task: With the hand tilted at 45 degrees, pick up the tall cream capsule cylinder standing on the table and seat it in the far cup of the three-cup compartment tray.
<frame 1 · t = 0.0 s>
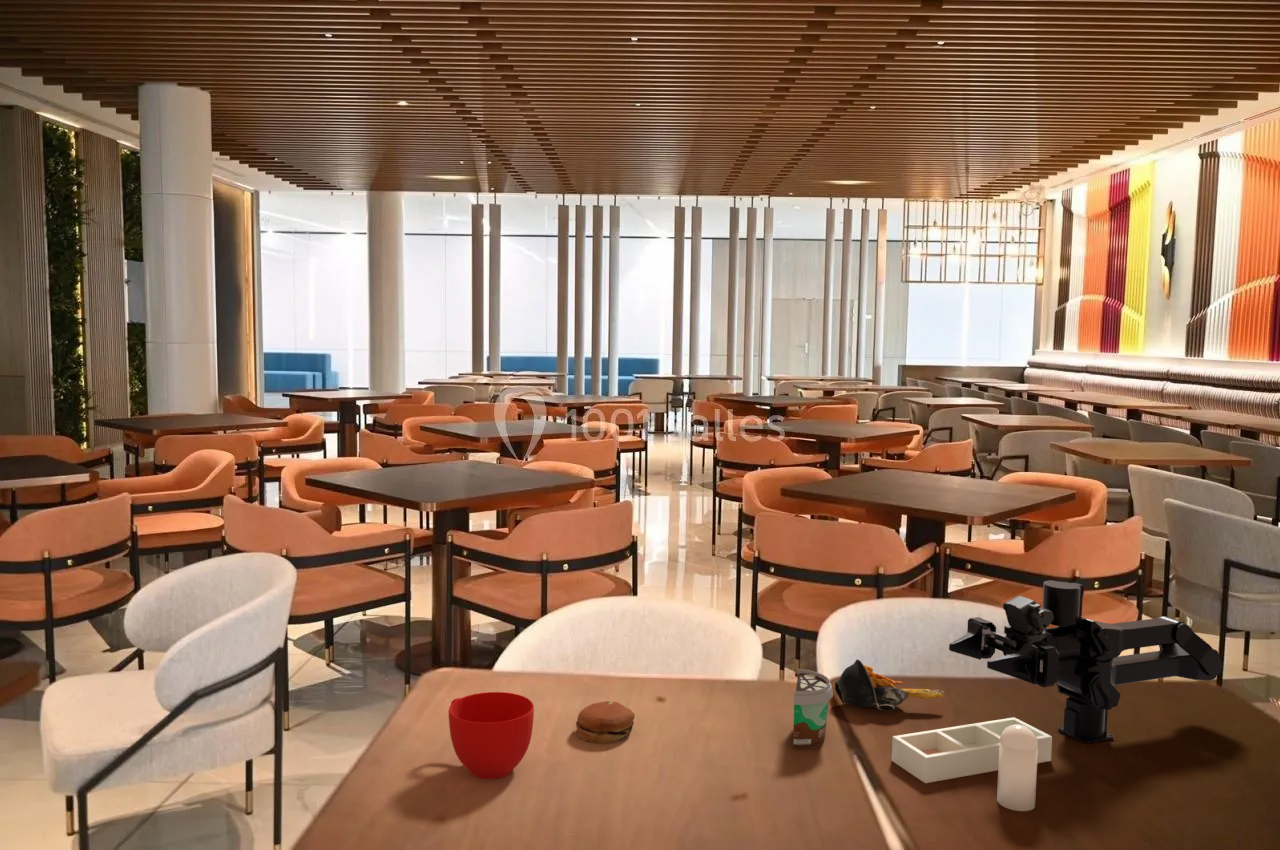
hand: (968, 655, 161), 17 cm above the table, tool horizontal, fingers open, 9 cm apart
compartment tray: (971, 760, 161), on the table
fried shrimp in bowl: (885, 709, 183), on the table
burger: (604, 734, 170), on the table
cream capsule cylinder: (1015, 802, 147), on the table
food container: (812, 740, 169), on the table
ceramic cup: (483, 766, 157), on the table
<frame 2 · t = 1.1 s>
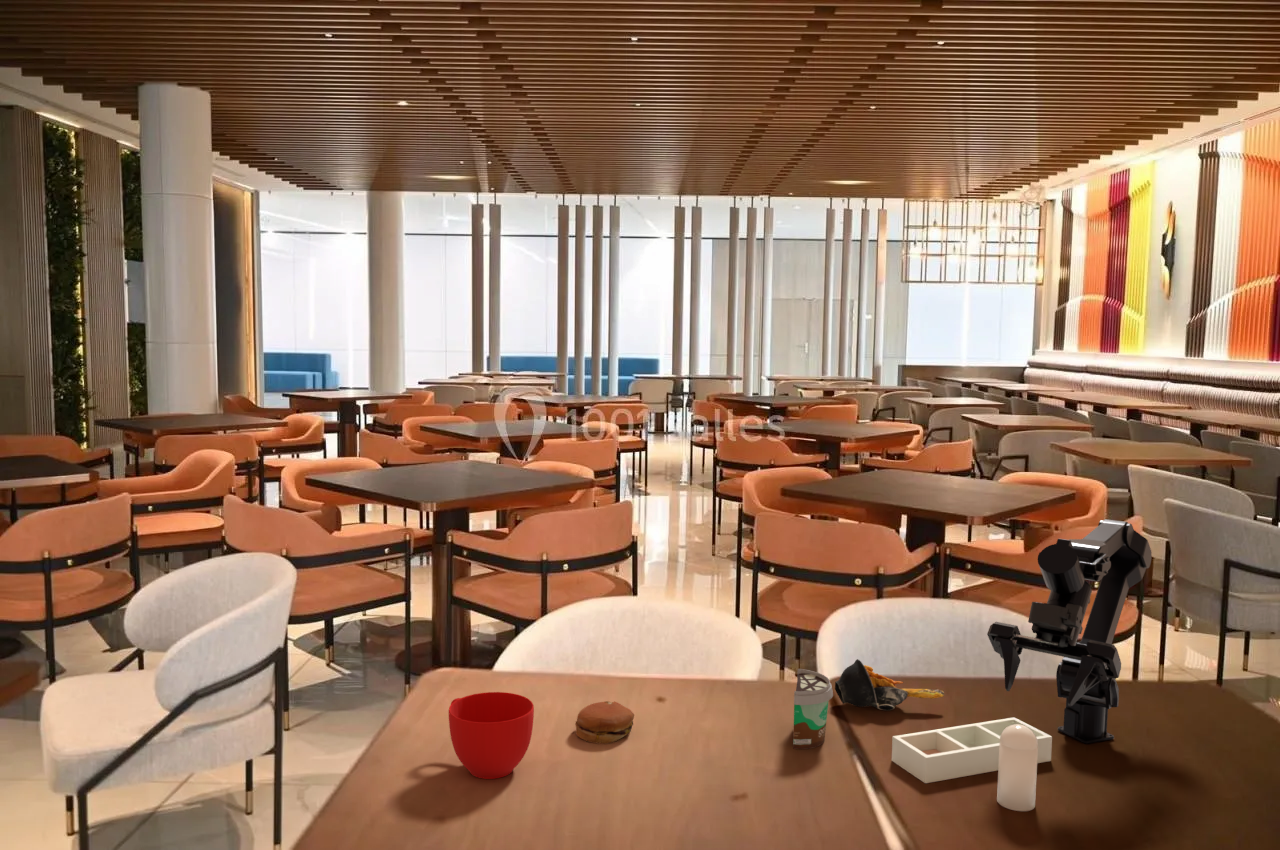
hand: (1037, 697, 151), 14 cm above the table, tool tilted 45°, fingers open, 9 cm apart
nothing on the table moved.
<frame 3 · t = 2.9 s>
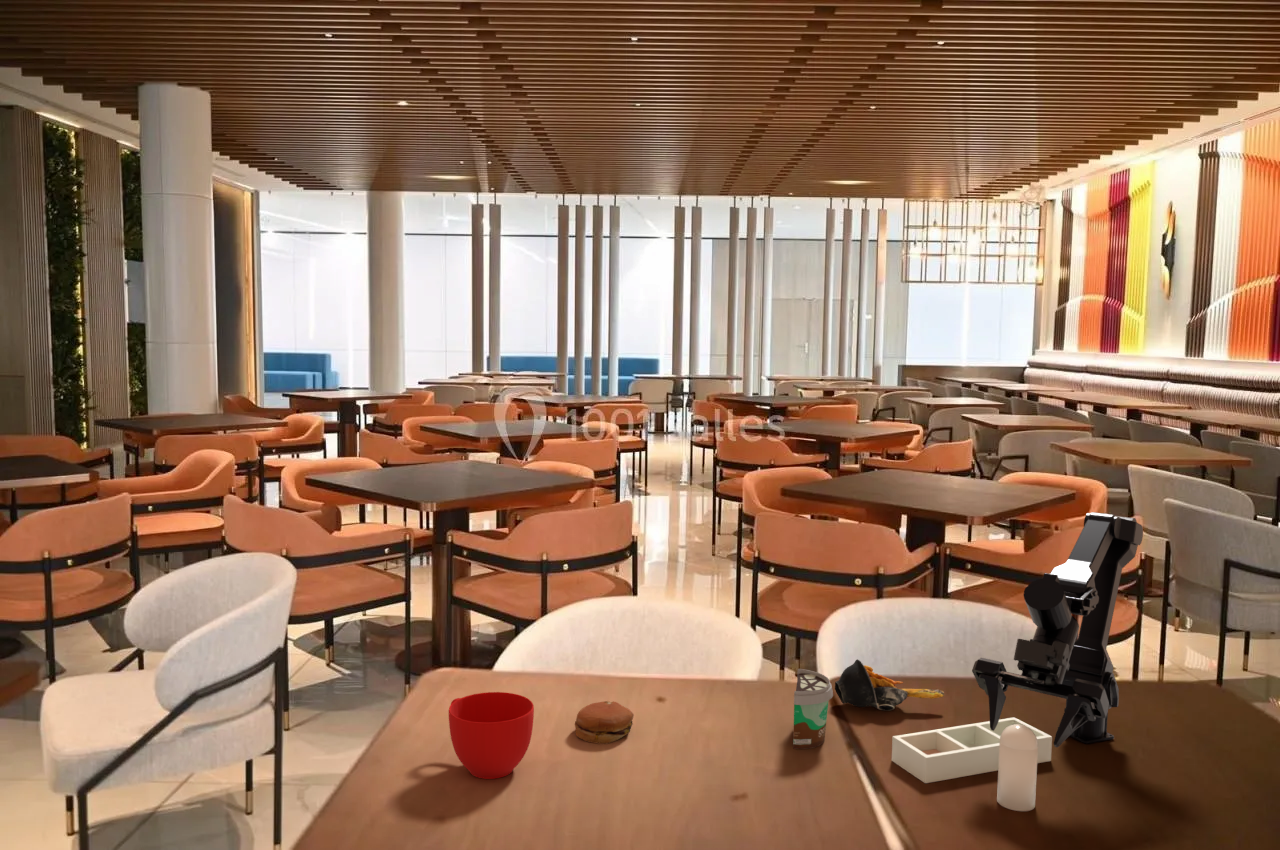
hand: (1023, 737, 147), 9 cm above the table, tool tilted 45°, fingers open, 9 cm apart
nothing on the table moved.
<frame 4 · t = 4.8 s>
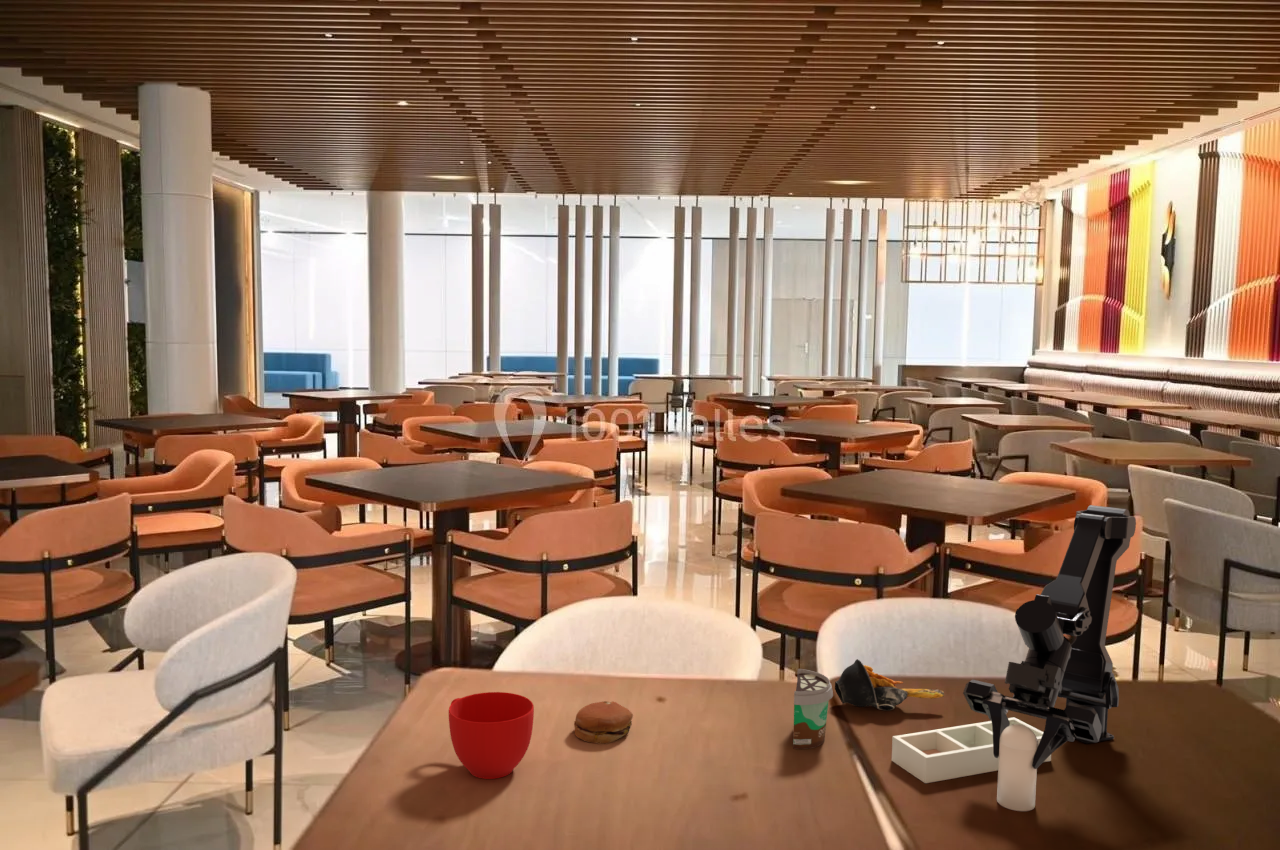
hand: (1014, 762, 145), 7 cm above the table, tool tilted 45°, fingers closed on cream capsule cylinder, 5 cm apart
cream capsule cylinder: (1015, 802, 147), on the table, touching gripper
everything else where it was.
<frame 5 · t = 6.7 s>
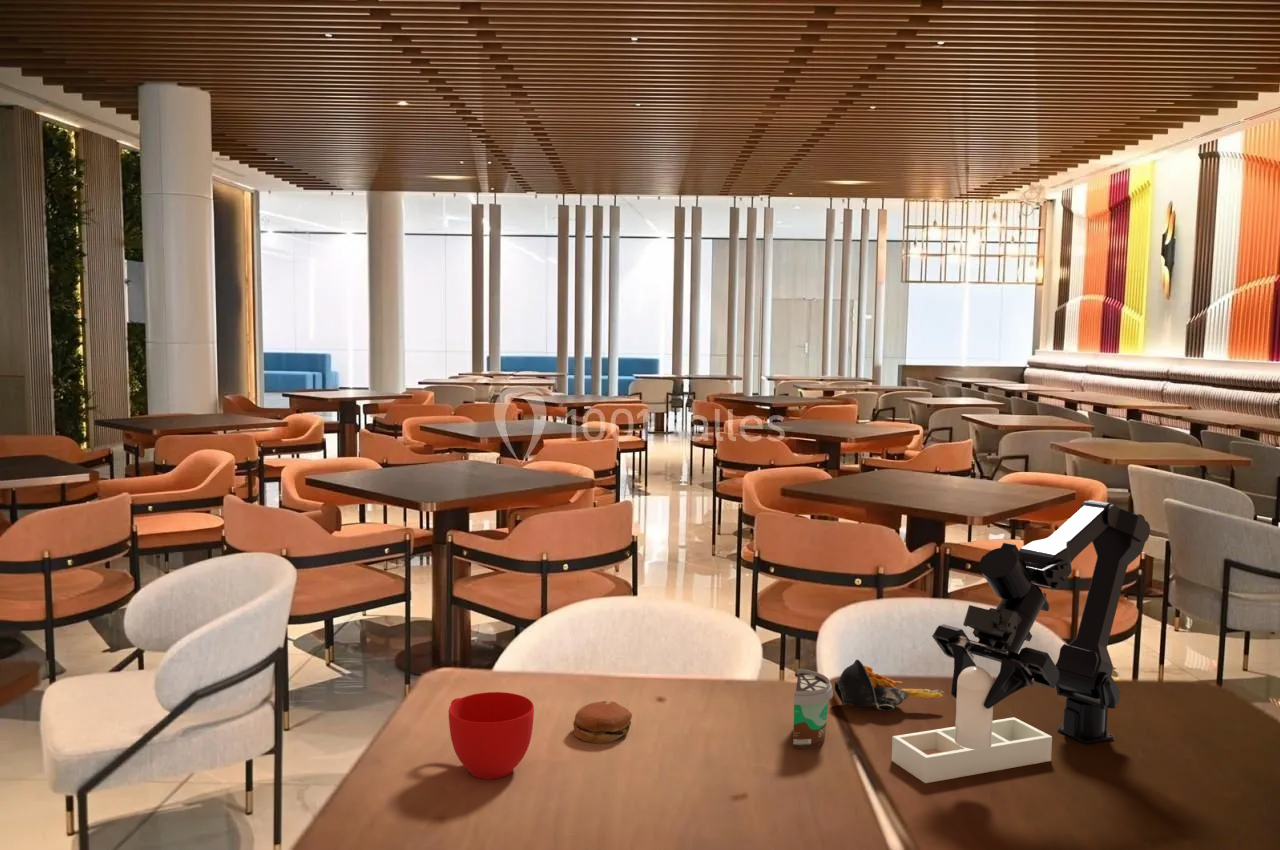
hand: (969, 701, 149), 14 cm above the table, tool tilted 45°, fingers closed on cream capsule cylinder, 5 cm apart
cream capsule cylinder: (972, 742, 151), point 7 cm above the table, touching gripper
everything else where it was.
when the fingers open (9 cm above the table, at t = 8.9 s): cream capsule cylinder drops 1 cm, resting on compartment tray.
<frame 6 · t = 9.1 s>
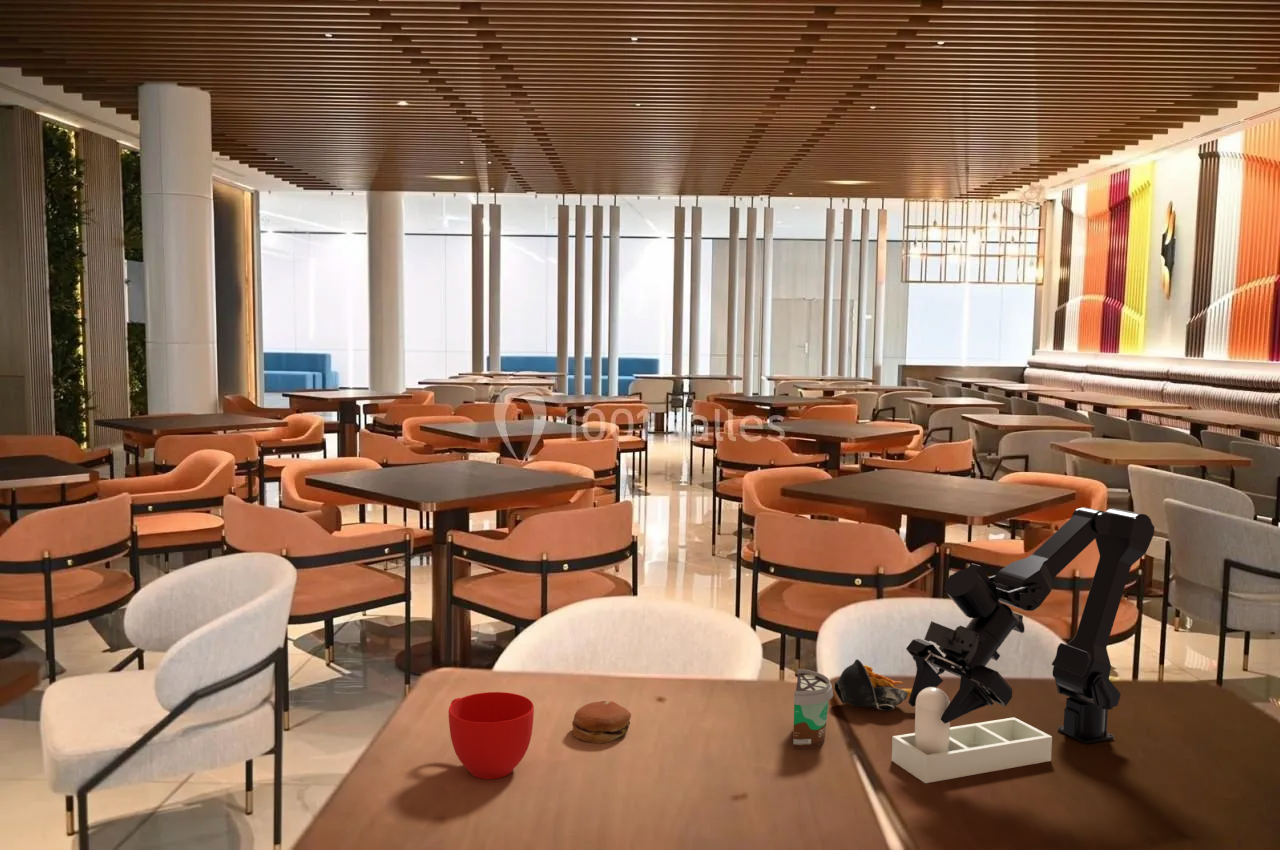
hand: (926, 713, 157), 9 cm above the table, tool tilted 45°, fingers open, 7 cm apart
cream capsule cylinder: (931, 760, 158), point 1 cm above the table, touching compartment tray
everything else where it was.
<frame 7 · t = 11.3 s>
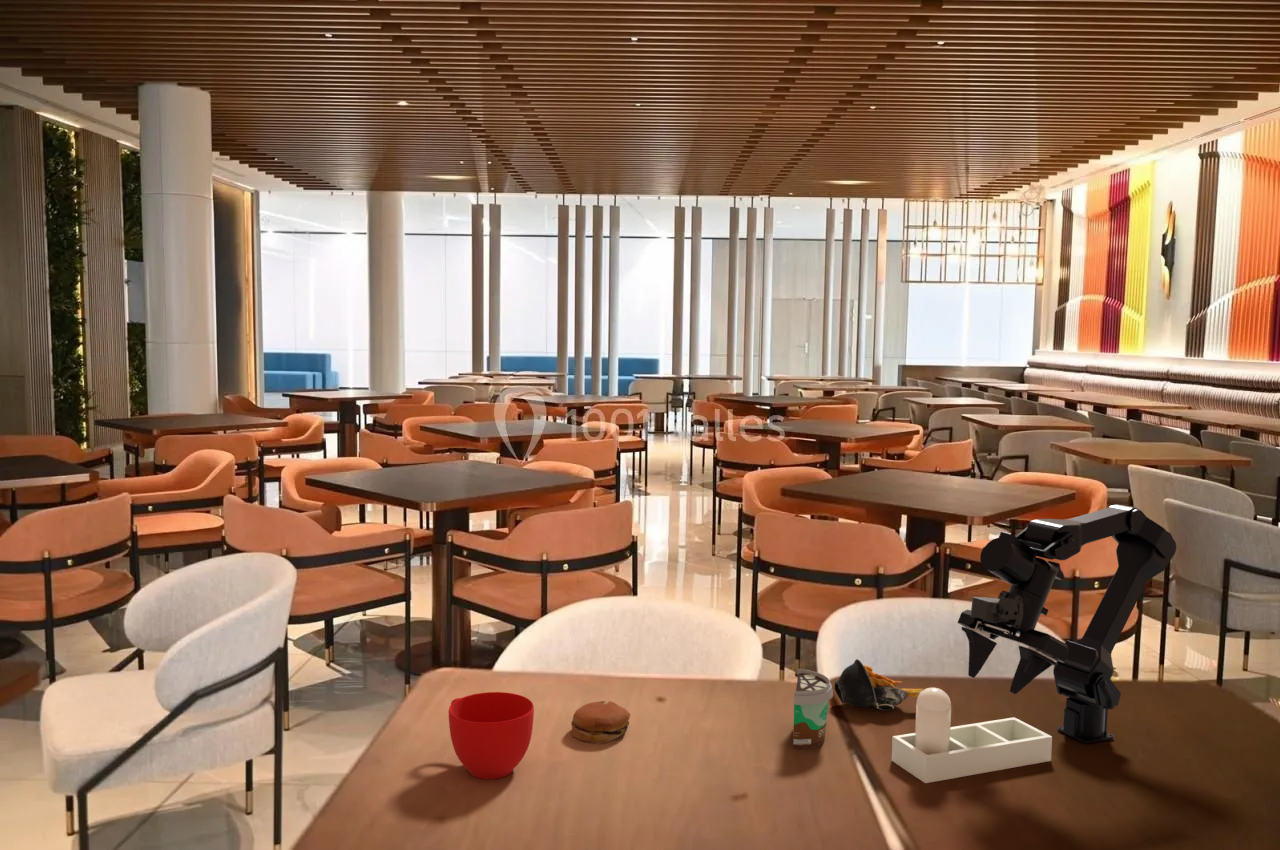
hand: (991, 684, 160), 13 cm above the table, tool tilted 30°, fingers open, 9 cm apart
nothing on the table moved.
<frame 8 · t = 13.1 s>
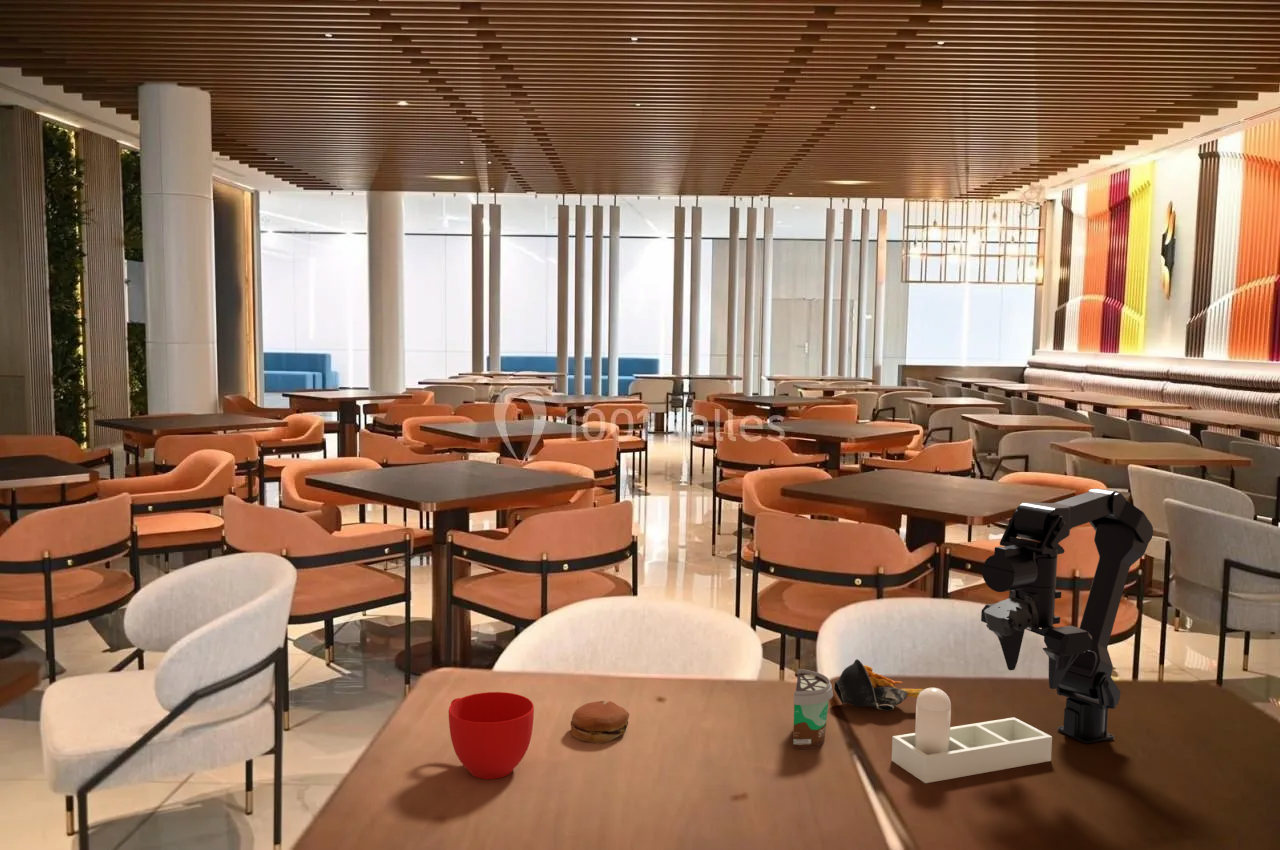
hand: (1031, 679, 161), 13 cm above the table, tool pointing down, fingers open, 9 cm apart
nothing on the table moved.
at the end: cream capsule cylinder 0.0 cm from the target spot on the compartment tray, point 1.2 cm above the compartment tray's base; cream capsule cylinder tilted 0°; the gripper is holding nothing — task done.
